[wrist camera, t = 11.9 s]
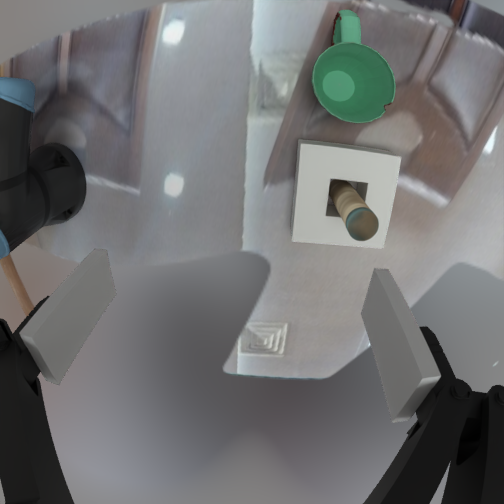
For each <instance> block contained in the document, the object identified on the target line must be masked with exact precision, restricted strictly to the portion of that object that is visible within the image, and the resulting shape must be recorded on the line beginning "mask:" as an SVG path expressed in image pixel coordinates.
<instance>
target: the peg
mask: <svg viewBox="0 0 504 504" xmlns="http://www.w3.org/2000/svg"><path fill="white" fill-rule="evenodd" d="M329 195H330V197H331V199H332V201H333V203H334V205H335V206H336V208H337V210H338V212H339V214H340V216H341V218H342V220H343V222H344V224H345V226H346V229H347V231H348V233H349V235H350V236H351V237H352V238H353V239H355V240H357V241H366V240H369V239H371V238H372V237H373V236H374V235H375V234H376V233H377V231H378V228H379V221H378V218H377V216H376V215H375V214H374V213H373V211H372V210H371V209H370V208H369V207H368V206H367V204H366V203H365V202H364V201H363V199H362V198H361V197H360V196H359V194H358V193H357V192H356V191H355V189H354V188H353V187H352V186H351V185H350V183H349V182H348V181H347V180H340V179H334V180H332V181H331V182H330V185H329Z"/></svg>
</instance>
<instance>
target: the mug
mask: <svg viewBox="0 0 504 504" xmlns="http://www.w3.org/2000/svg"><path fill="white" fill-rule="evenodd" d="M311 81H312V85H313V90H314V94H315V95H316V97H317V99H318V101H319V102H320V104H321V105H322V106H323V107H324V108H325V109H326V110H327V111H328V112H329V113H330V114H331V115H333V116H335V117H337V118H339V119H341V120H342V121H347V122H351V123H356V124H357V123H368V122H371V121H373V120H376V119H378V118H380V117H381V116H382V115H383V114H384V113H385V112H386V109H385V106H386V105H390V104H391V103H392V102H393V100H394V97H395V89H396V84H395V79H394V74H393V72H392V70H391V68H390V66H389V64H388V62H387V61H386V60H385V59H384V58H383V57H382V56H381V55H380V53H379V52H377V51H375V50H374V49H372V48H370V47H369V46H367V45H364V44H361V28H360V18H359V17H358V16H357V14H355V13H354V12H352V11H351V10H341V11H339V12H338V13H337V15H336V17H335V19H334V26H333V36H332V46H331V47H328V48H327V49H326V50H325V51H324V52H323V53H322V54H321V55H320V56H319V57H318V59H317V61H316V63H315V65H314V67H313V72H312V80H311Z"/></svg>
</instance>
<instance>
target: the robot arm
mask: <svg viewBox="0 0 504 504" xmlns="http://www.w3.org/2000/svg"><path fill="white" fill-rule="evenodd" d="M34 99H35V85H34V83H33V82H32V81H30V80H27V79H20V78H8V77H0V259H1V258H3V257H6V256H7V255H8V254H9V253H10V252H11V251H13V250H14V249H15V248H16V247H17V246H19V245H20V244H21V243H22V242H24V241H25V240H26V239H27V238H29V237H30V236H31V235H32V234H34V233H35V232H36V231H38V230H39V229H40V228H42V227H44V226H49V225H54V224H60V223H63V222H65V221H67V220H69V219H70V218H72V217H73V216H74V215H76V214H77V213H78V212H79V210H80V209H81V207H82V205H83V202H84V199H85V194H86V181H85V175H84V172H83V169H82V166H81V164H80V162H79V160H78V158H77V157H76V156H75V154H74V153H73V152H72V151H71V150H70V149H68V148H67V147H65V146H64V145H61V144H57V143H51V144H47V145H44V146H41V147H39V148H37V149H36V150H34V151H33V152H32V153H31V154H30V140H31V129H32V120H33V113H34V112H35V110H34ZM115 296H116V290H115V286H114V282H113V277H112V273H111V268H110V264H109V259H108V254H107V250H103V249H94V250H93V251H92V252H91V253H90V254H89V255H88V256H87V257H86V258H85V259H84V260H83V261H82V262H81V263H80V265H78V266H77V267H76V268H75V269H74V271H73V272H72V273H71V274H70V275H69V276H68V277H67V278H66V279H65V280H64V281H63V283H62V284H61V285H60V286H59V287H58V288H57V289H56V290H55V291H54V292H53V293H52V295H51V296H47V297H46V298H44V299H43V300H41V301H40V302H39V303H38V304H37V305H36V307H35V308H34V310H32V311H31V312H30V313H29V316H27V317H26V319H24V321H23V322H22V323H21V324H20V325H19V327H18V328H17V329H16V330H15V332H14V333H13V334H12V332H11V330H10V328H9V326H8V324H7V322H6V321H5V320H4V319H0V479H1V484H2V488H3V492H4V496H5V504H74V502H73V499H72V497H71V494H70V492H69V489H68V486H67V484H66V481H65V478H64V475H63V473H62V469H61V466H60V463H59V460H58V457H57V454H56V450H55V447H54V443H53V440H52V437H51V432H50V428H49V424H48V420H47V416H46V411H45V406H44V401H43V396H42V390H41V385H40V381H39V379H38V377H37V376H38V375H39V373H40V372H41V373H42V375H43V376H44V378H45V380H46V381H49V382H51V383H54V384H57V385H60V383H61V381H62V379H63V378H64V376H65V374H66V372H67V371H68V369H69V367H70V366H71V364H72V362H73V361H74V359H75V357H76V355H77V354H78V352H79V351H80V349H81V348H82V346H83V344H84V343H85V341H86V340H87V338H88V336H89V335H90V333H91V332H92V330H93V329H94V327H95V325H96V324H97V322H98V321H99V319H100V318H101V316H102V315H103V313H104V312H105V310H106V309H107V307H108V306H109V304H110V303H111V301H112V300H113V298H114V297H115ZM361 315H362V318H363V321H364V324H365V328H366V331H367V334H368V337H369V340H370V344H371V347H372V350H373V354H374V357H375V361H376V364H377V367H378V371H379V375H380V378H381V382H382V386H383V389H384V393H385V397H386V401H387V404H388V409H389V413H390V417H391V421H392V423H393V422H400V421H407V420H410V418H411V417H412V416H413V415H414V413H415V412H416V415H417V418H418V420H417V422H416V423H415V424H414V425H413V426H412V427H411V429H410V430H409V431H408V432H407V434H408V437H407V438H406V440H405V442H404V444H403V445H402V447H401V449H400V450H399V452H398V454H397V456H396V457H395V459H394V460H393V462H392V463H391V465H390V467H389V468H388V469H387V471H386V472H385V474H384V475H383V477H382V479H381V480H380V481H379V483H378V484H377V486H376V487H375V488H374V490H373V491H372V493H371V494H370V495H369V497H368V498H367V499H366V501H365V502H364V503H363V504H429V503H430V501H431V500H432V498H433V496H434V494H435V492H436V490H437V488H438V486H439V484H440V482H441V480H442V478H443V476H444V474H445V472H446V470H447V467H448V465H449V463H450V467H449V472H448V477H447V482H446V486H445V490H444V495H443V498H442V503H441V504H504V387H503V386H501V385H495V386H492V387H491V389H490V390H489V391H488V393H482V392H475V391H472V389H471V388H470V386H469V385H468V384H467V383H466V382H464V381H463V380H460V379H456V377H455V375H454V373H453V371H452V368H451V366H450V364H449V362H448V360H447V358H446V356H445V354H444V353H443V349H442V347H441V346H440V345H439V344H440V343H439V341H438V340H437V338H436V336H435V334H434V333H433V332H432V331H431V330H430V329H429V328H428V327H419V326H418V324H417V322H416V320H415V318H414V316H413V314H412V312H411V310H410V308H409V306H408V304H407V302H406V300H405V299H404V297H403V295H402V293H401V291H400V289H399V287H398V286H397V284H396V282H395V280H394V278H393V276H392V275H391V273H390V271H389V269H378V268H374V271H373V274H372V278H371V281H370V285H369V288H368V292H367V295H366V299H365V302H364V305H363V309H362V312H361ZM450 461H451V462H450Z"/></svg>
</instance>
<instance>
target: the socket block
mask: <svg viewBox="0 0 504 504" xmlns="http://www.w3.org/2000/svg"><path fill="white" fill-rule="evenodd" d="M400 162H401V157H400V156H398V155H396V154H394V153H392V152H390V151H387V150H381V149H375V148H369V147H362V146H355V145H348V144H340V143H332V142H324V141H314V140H304V139H298V148H297V161H296V174H295V185H294V197H293V208H292V218H291V238H292V242H304V243H317V244H331V245H344V246H356V247H369V248H381V249H383V247H384V243H385V238H386V234H387V230H388V225H389V221H390V216H391V212H392V207H393V202H394V197H395V191H396V186H397V180H398V174H399V168H400ZM330 178H331V179H340V180H349V181H357V182H358V186H357V193H358V194H359V196H360V197H361V198H362V199H363V201H364V202H365V203H366V204H367V206H368V207H369V208H370V209H371V210H372V211H373V213H374V214H375V215H376V216H377V218H378V221H379V228H378V231H377V233H376V234H375V235H374V236H373V237H372V238H371V239H369V240H366V241H357V240H355V239H353V238H352V237H351V236H350V235H349V233H348V231H347V229H346V226H345V224H344V222H343V220H342V218H341V216H340V214H339V212H338V210H337V208H336V206H335V205H327V201H328V193H329V185H330Z"/></svg>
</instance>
